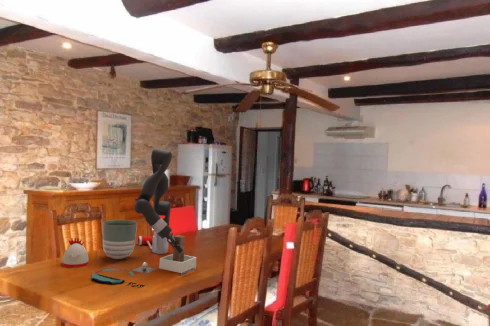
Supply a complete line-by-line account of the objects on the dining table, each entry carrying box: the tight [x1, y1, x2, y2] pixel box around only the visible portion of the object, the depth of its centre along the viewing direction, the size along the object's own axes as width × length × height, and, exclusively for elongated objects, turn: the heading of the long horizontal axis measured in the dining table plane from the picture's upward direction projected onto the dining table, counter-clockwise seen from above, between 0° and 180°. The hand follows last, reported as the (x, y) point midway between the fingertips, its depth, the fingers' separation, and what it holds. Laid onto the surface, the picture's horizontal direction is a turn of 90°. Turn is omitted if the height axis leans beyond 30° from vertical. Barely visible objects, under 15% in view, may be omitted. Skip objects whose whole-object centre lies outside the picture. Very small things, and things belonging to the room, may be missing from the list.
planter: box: [102, 219, 138, 260], centre depth 242 cm, size 20×20×21 cm
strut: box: [172, 234, 186, 262], centre depth 225 cm, size 4×4×15 cm
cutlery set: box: [90, 268, 146, 289], centre depth 204 cm, size 20×30×2 cm, turn 71°
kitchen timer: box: [61, 236, 90, 268], centre depth 225 cm, size 14×14×15 cm
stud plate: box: [131, 261, 158, 275], centre depth 218 cm, size 10×10×5 cm
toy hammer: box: [137, 235, 154, 252], centre depth 273 cm, size 23×12×6 cm, turn 25°
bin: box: [158, 253, 197, 277], centre depth 226 cm, size 15×15×7 cm
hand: (181, 250), depth 226 cm, fingers closed on strut, 6 cm apart
